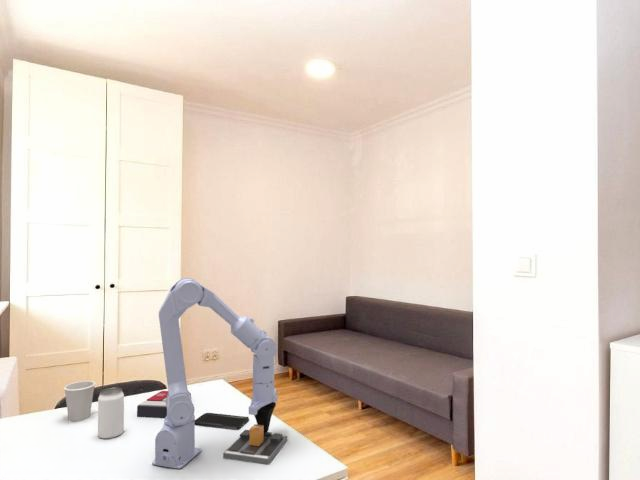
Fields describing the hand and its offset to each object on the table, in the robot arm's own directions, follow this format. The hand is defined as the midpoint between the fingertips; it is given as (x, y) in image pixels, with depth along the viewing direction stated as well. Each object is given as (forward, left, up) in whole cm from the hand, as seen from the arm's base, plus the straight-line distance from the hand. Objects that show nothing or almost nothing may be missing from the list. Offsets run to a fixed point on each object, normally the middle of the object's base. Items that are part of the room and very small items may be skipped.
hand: (263, 431), depth 110 cm
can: (-7, +43, -3) cm, 44 cm away
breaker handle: (-5, 0, -1) cm, 5 cm away
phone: (+8, +17, -3) cm, 19 cm away
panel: (-5, 0, -2) cm, 5 cm away
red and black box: (+13, +40, -3) cm, 42 cm away
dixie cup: (0, +61, -3) cm, 61 cm away
